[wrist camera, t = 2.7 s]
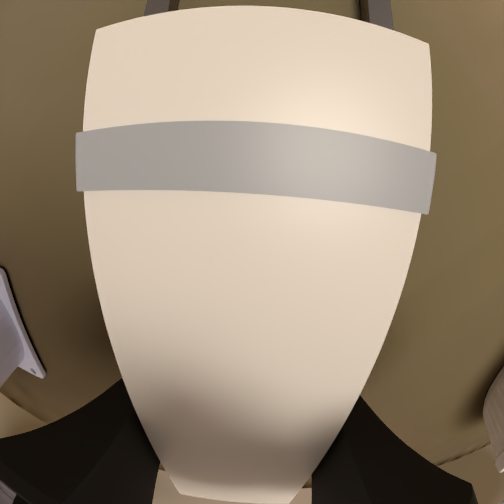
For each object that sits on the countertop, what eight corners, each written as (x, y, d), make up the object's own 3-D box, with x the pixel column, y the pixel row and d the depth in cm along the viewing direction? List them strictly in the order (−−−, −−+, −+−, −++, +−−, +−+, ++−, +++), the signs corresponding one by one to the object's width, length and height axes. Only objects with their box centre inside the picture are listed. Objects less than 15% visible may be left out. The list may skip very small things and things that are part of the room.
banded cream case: (197, 410, 12) (178, 495, 7) (186, 88, 7) (89, 28, 2) (287, 418, 12) (290, 505, 7) (341, 97, 7) (435, 43, 2)
